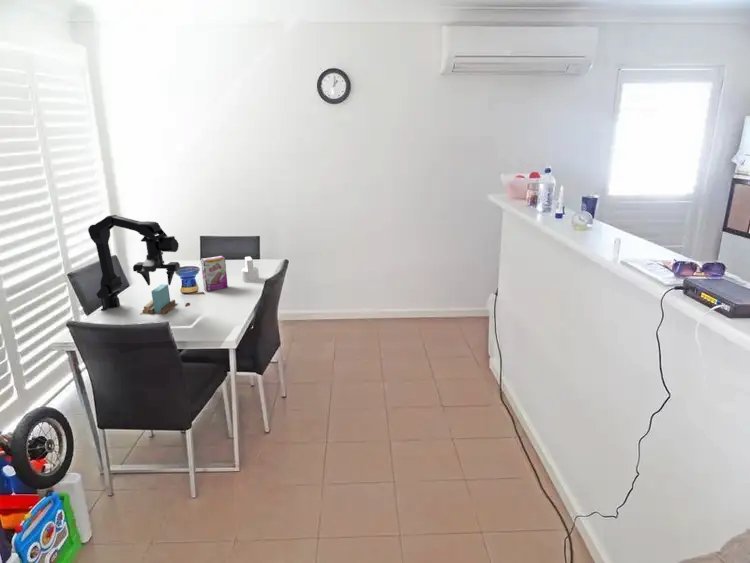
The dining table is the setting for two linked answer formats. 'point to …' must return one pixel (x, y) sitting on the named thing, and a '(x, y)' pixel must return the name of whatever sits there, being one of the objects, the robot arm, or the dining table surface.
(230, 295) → the dining table surface
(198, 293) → the wooden tablet
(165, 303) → the teal panel
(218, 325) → the dining table surface
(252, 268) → the base with upright slab
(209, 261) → the candy bar box
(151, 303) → the oak offcut slats
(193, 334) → the dining table surface
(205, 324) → the dining table surface
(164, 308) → the walnut rack
